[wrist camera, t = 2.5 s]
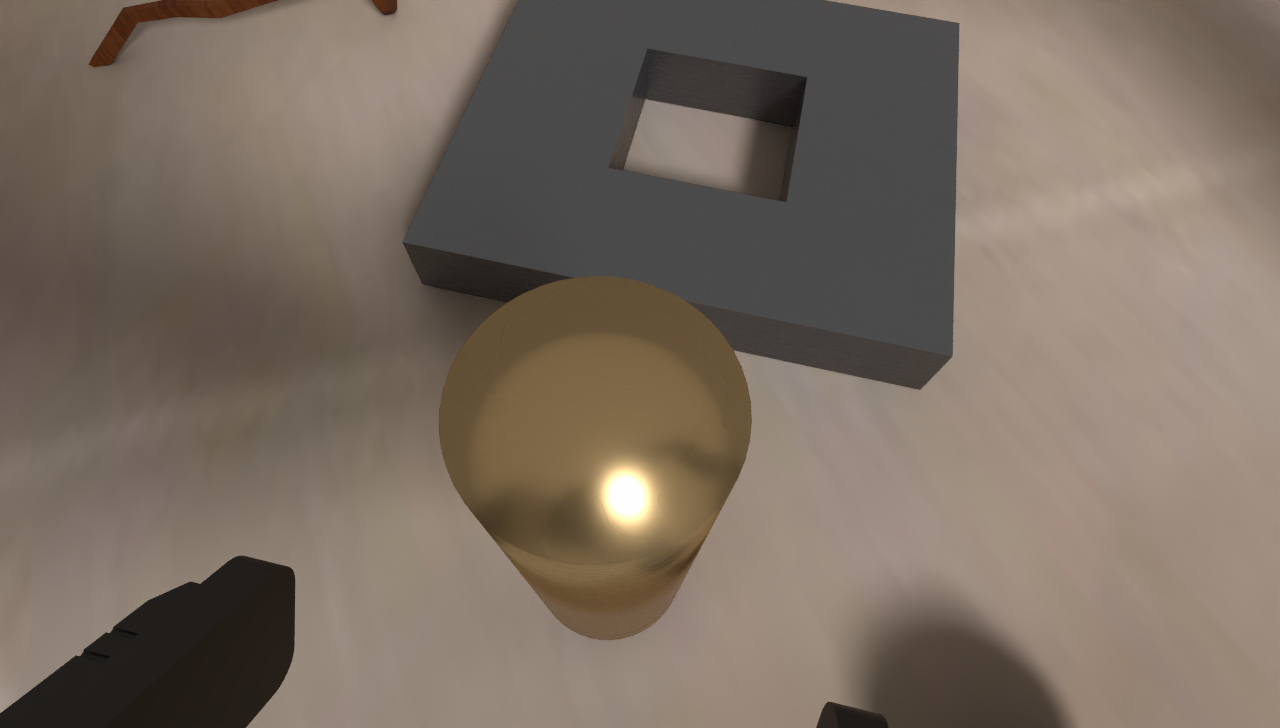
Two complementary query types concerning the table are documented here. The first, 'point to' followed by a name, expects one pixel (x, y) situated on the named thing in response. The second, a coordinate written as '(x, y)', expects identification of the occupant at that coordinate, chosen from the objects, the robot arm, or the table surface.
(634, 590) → the tan mottled cylinder
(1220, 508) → the table surface
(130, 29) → the glasses
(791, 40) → the plate
